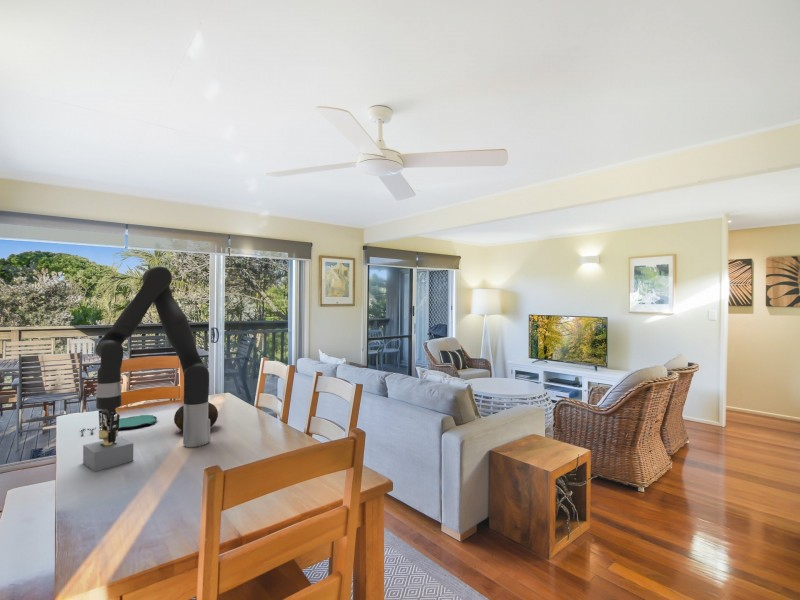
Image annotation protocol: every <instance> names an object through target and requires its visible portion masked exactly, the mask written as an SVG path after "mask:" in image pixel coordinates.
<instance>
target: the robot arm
mask: <svg viewBox="0 0 800 600" xmlns="http://www.w3.org/2000/svg"><path fill="white" fill-rule="evenodd" d="M172 279H173V275H172V271H170V270H169V269H168V268H167V267H165V266H163V265H155V266H153V267H151V268H149V269H147V270H146V271H145V272H143V275H142V282H143V283H142V285H141V286H140V287H141V288H140V289H139V291H138V292H137V294H136V295H135V296H134V297H133V298H132V300H131V301H130V302H129V303H128V305H127V306H126V307H125V308H124V309H123V310H122V312H121V313H120V314H119V316H118V317H117V319H116V320H115V322H114V323H113V325H112V327H111V328H110V329H109V330H108V331H107V332H106V333H105V335H103V336H102V338H101V339H99V341H98V343H97V344H96V347H95V354H96V355H97V357H99V358H100V366H99V368H98V370H97V373H96V374H97V376H96V377H97V378H96V380H97V381H96V383H97V384H96V391H95V394H96V396H95V398H96V402H95V403H96V404H95V408H96V409H97V410H98V422H99V424H98V426H99V427H100V426H101V429H106V428H107V429H108V442H109V443H111V442H115V441H116V438H117V437H116V431H117V430H118V431H119V419H120V418H121V416H120V414H118V413H117V410H116V409H117V408H120V407H121V406H122V383H121V382H122V381H121V379H122V377H121V375H122V373H121V368H122V364H123V360H124V347H123V345H122V344H124V342H125V340H127V339H128V338H131V336H132V335H133V334H134V333H135V332H136V331H135V330H136V329H137V328H138V326H139V325H140V323H141V322H142V320H143V319H144V317H145V316H146V314H147V312H148V311H149V309H150V307H151V306H152V305H153V304H154V306H155V309H156V312H157V316H158V317H159V321H160V323H161V326H162V329H163V331H164V333H165V336H166V338H167V339H168V342H169V343H170V345H171V347H172V349H173V350H174V352H175V353H176V355H177V357H178V359H179V363H180V366H181V369H182V374H183V405H184V419H183V431H182V432H183V433H182V441H183V442H182V443H183V444H182V446H183V445H184V446H183V447H185V446H186V447H185V448H198V447H202V446H204V444H205V445H207V444H208V442H209V443H211V428H210V419H208V402H209V396H210V372H209V370H208V367H207V366H206V365H205V364H204V362H203V360H202V358H201V356H200V354H199V352H198V350H197V347H196V343H195V342H196V341H195V339H194V338H195V337H194V335H193V331H192V328H191V326H190V324H189V321H188V318H187V316H186V315H185V313H184V311H183V309H181V307H180V305H179V304H178V302H177V301H176V300H175V298H174V296H173V293H172V290H171V287H170V285H171V283H172V281H173V280H172ZM113 426H114V428H113ZM206 443H207V444H206ZM201 445H202V446H201ZM197 446H198V447H197Z"/></svg>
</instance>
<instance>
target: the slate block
mask: <svg viewBox="0 0 800 600" xmlns="http://www.w3.org/2000/svg"><path fill="white" fill-rule="evenodd" d="M82 449H83V450H82V454H83V456H82V457H83V458H82V463H83V464H84V465H85V466H86V467H88V468H89V469H90V470H92V471H93V472H97V471H101V470H105V469H108V468H113V467H116V466H120V465H122V464H126V463H130V461H131V462H133V461H134V443H133V441H132V442H131V441H130V440H128V439H126V438H124V437H123V436H117V437H116V441H115V442H113V445H110V446H106V447H103V440H99V441H96V442H92V443H91V442H90V443H87V444H83V445H82ZM119 464H120V465H119ZM115 465H116V466H115Z"/></svg>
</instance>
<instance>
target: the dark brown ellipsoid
mask: <svg viewBox="0 0 800 600" xmlns="http://www.w3.org/2000/svg"><path fill="white" fill-rule="evenodd" d="M218 417H219V411H218V409H217V407H216V406H215V405H214V404H213V403H211V402H210V401H208V419H210V429H211V428H212V427H213V426H214V425H215V424H216V422H217V421H218ZM183 419H184V404H183V405H181V406H180V407H179V408H178V409H177V410H176V411H175V414H174V416H173V421H174V424H175V426H176V428H178V430H180V431H182V432H183Z"/></svg>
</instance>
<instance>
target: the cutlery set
mask: <svg viewBox="0 0 800 600" xmlns="http://www.w3.org/2000/svg"><path fill="white" fill-rule="evenodd" d="M157 418H158V417H157V416H154V415H153V414H141V415H135V416H129V417H122V418H121V417H120V418H119V429H120V430H121V429H130V428H137V427H143V426H146V425H151V424H154V423H155V422H156V421H157V420H158V419H157ZM99 429H100V430H101V428H100V427H99V428H98V430H99ZM84 430H85V431H86V428H85V429H84V428H83V430H81V431H82V432H81V431H80V432H81V437H84V433H83V432H85V431H84ZM100 430H99V431H100ZM90 435H94V429H93V430H90Z"/></svg>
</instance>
